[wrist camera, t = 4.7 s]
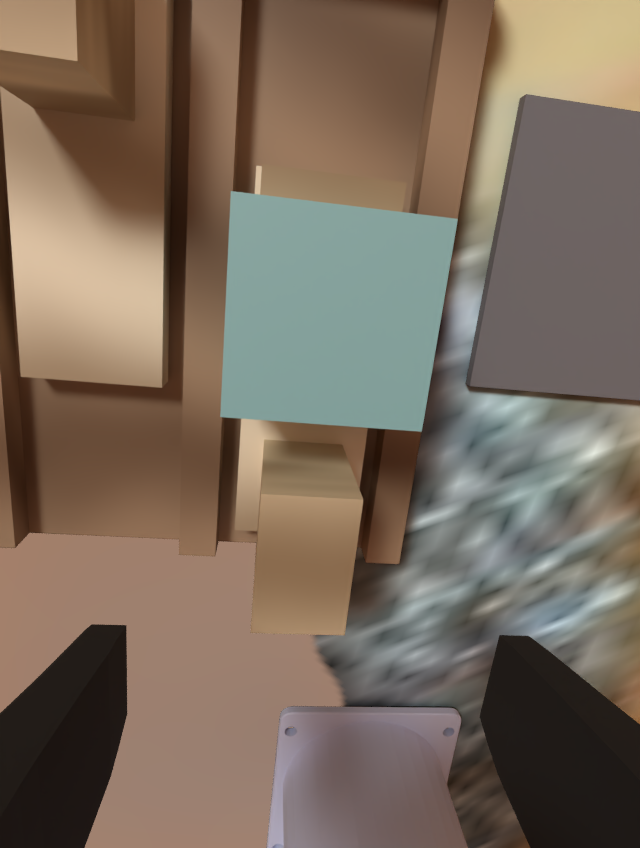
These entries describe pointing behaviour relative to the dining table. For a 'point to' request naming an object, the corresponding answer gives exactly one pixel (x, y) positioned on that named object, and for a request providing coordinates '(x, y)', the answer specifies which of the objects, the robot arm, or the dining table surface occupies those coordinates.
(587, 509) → the dining table surface
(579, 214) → the felt pad
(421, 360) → the cube
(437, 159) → the lane board
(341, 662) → the dining table surface
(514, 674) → the robot arm
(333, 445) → the strip
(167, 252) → the strip
